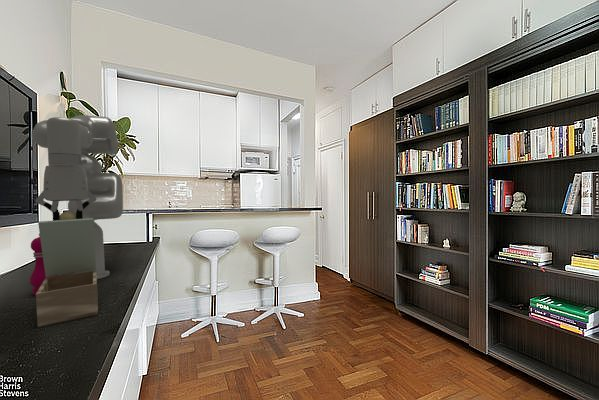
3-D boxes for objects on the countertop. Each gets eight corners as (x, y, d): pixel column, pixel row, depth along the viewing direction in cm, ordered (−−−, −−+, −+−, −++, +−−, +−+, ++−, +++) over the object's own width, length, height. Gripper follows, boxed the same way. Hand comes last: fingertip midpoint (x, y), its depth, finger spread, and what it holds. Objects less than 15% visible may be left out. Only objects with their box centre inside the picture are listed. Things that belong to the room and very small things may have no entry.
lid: (45, 277, 86) (47, 263, 91) (96, 269, 93) (95, 257, 97) (38, 221, 79) (40, 210, 83) (93, 217, 86) (92, 207, 90)
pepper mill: (43, 296, 94) (39, 233, 93) (24, 295, 95) (21, 233, 95) (65, 289, 101) (62, 230, 101) (48, 288, 103) (44, 230, 102)
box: (47, 305, 86) (45, 277, 86) (97, 295, 93) (96, 270, 93) (37, 327, 71) (35, 294, 71) (98, 314, 78) (96, 284, 78)
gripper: (99, 164, 94) (102, 222, 94) (28, 162, 85) (32, 227, 85) (100, 161, 88) (103, 223, 88) (23, 159, 79) (27, 228, 79)
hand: (68, 224), depth 87 cm, fingers closed on lid, 4 cm apart
